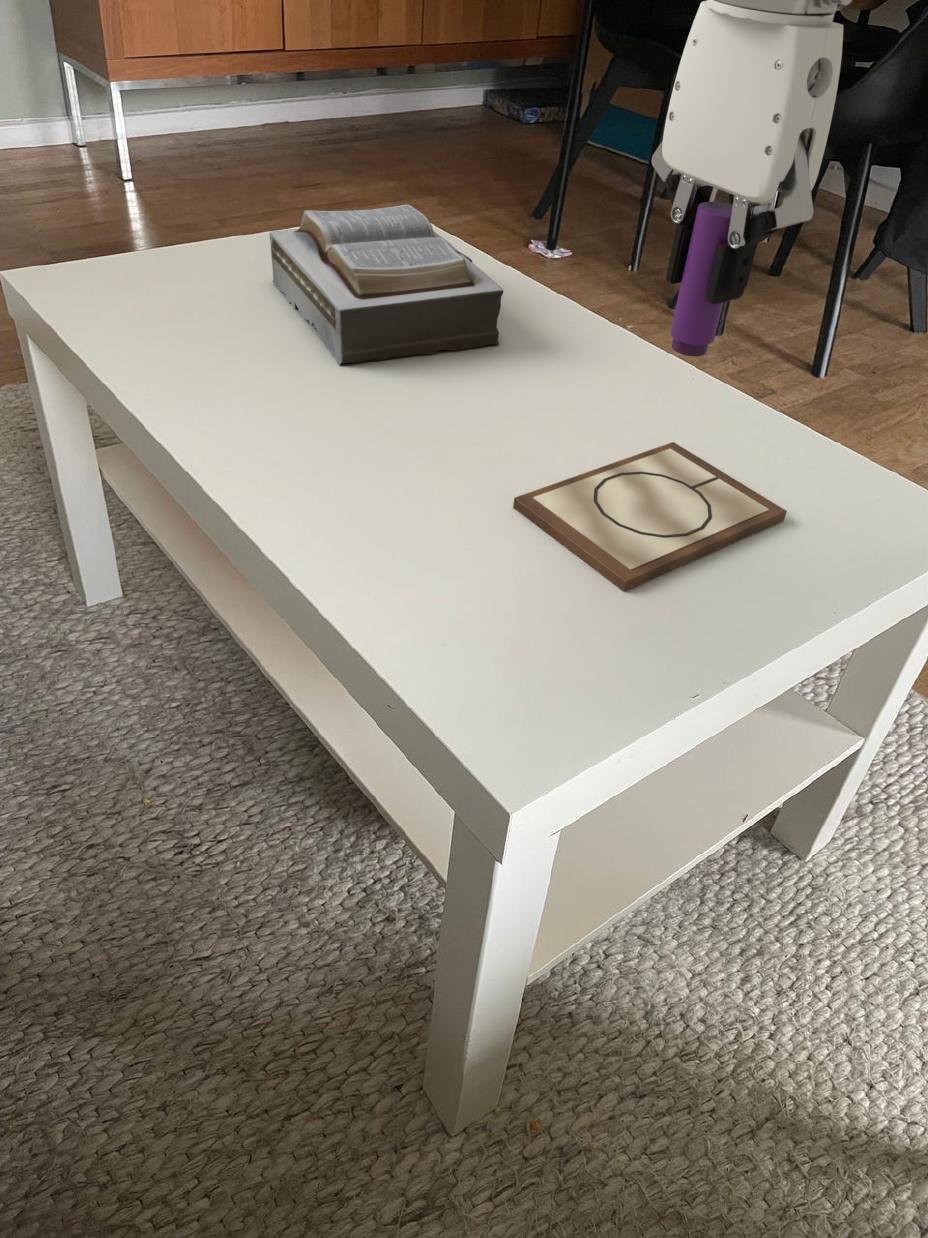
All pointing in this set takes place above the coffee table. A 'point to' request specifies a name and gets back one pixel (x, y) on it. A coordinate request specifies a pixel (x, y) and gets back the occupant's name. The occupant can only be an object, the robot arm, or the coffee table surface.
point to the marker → (700, 282)
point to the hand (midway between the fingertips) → (703, 287)
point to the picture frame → (648, 513)
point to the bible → (383, 284)
